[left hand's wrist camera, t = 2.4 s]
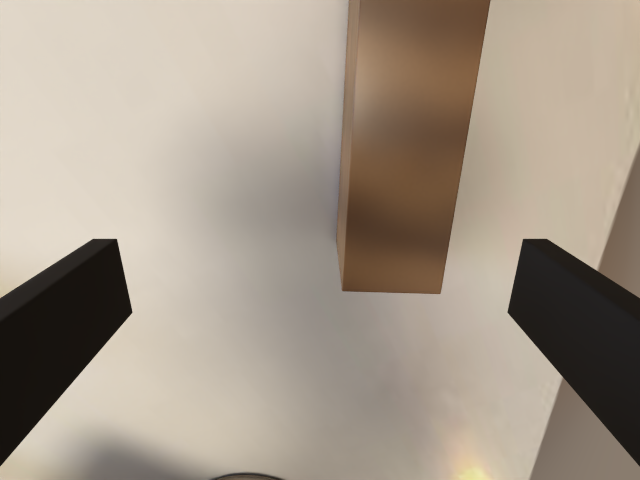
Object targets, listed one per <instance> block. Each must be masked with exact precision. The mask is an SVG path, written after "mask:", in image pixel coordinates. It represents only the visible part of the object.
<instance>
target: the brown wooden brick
mask: <svg viewBox="0 0 640 480" xmlns="http://www.w3.org/2000/svg"><path fill="white" fill-rule="evenodd" d="M489 5H490V0H349V9H348V28H347V48H346V67H345V86H344V105H343V124H342V143H341V162H340V181H339V200H338V219H337V238H336V242H337V251H338V260H339V269H340V277H341V286H342V291H354V292H389V293H424V294H440V293H441V288H442V282H443V276H444V270H445V264H446V258H447V252H448V246H449V240H450V235H451V229H452V223H453V217H454V211H455V205H456V199H457V193H458V187H459V182H460V176H461V170H462V164H463V158H464V152H465V146H466V140H467V135H468V129H469V123H470V117H471V111H472V105H473V99H474V93H475V87H476V82H477V76H478V70H479V64H480V58H481V52H482V46H483V40H484V34H485V29H486V23H487V17H488V11H489Z"/></svg>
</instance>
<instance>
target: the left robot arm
mask: <svg viewBox="0 0 640 480" xmlns="http://www.w3.org/2000/svg"><path fill="white" fill-rule="evenodd" d="M131 314H132V308H131V303H130V299H129V294H128V289H127V284H126V280H125V275H124V270H123V266H122V261H121V256H120V251H119V247H118V242H117V239H92V240H91V241H89V242H88V243H86V244H84V245H83V246H81V247H80V248H78V249H77V250H75V251H74V252H72V253H70V254H69V255H67V256H66V257H64V258H63V259H61V260H59V261H58V262H56V263H55V264H53V265H52V266H50V267H48V268H47V269H45V270H44V271H42V272H41V273H39V274H37V275H36V276H34V277H33V278H31V279H30V280H28V281H27V282H25V283H23V284H22V285H20V286H19V287H17V288H16V289H14V290H12V291H11V292H9V293H8V294H6V295H5V296H3V297H1V298H0V466H1V465H2V464H3V463H4V461H5V460H6V459H7V458H8V457H9V456H10V454H11V453H12V452H13V451H14V450H15V449H16V447H17V446H18V445H19V444H20V443H21V442H22V440H23V439H24V438H25V437H26V436H27V435H28V433H29V432H30V431H31V430H32V429H33V428H34V426H35V425H36V424H37V423H38V422H39V421H40V419H41V418H42V417H43V416H44V415H45V414H46V413H47V411H48V410H49V409H50V408H51V407H52V406H53V404H54V403H55V402H56V401H57V400H58V399H59V397H60V396H61V395H62V394H63V393H64V392H65V390H66V389H67V388H68V387H69V386H70V385H71V383H72V382H73V381H74V380H75V379H76V378H77V376H78V375H79V374H80V373H81V372H82V371H83V369H84V368H85V367H86V366H87V365H88V364H89V362H90V361H91V360H92V359H93V358H94V357H95V355H96V354H97V353H98V352H99V351H100V350H101V348H102V347H103V346H104V345H105V344H106V343H107V341H108V340H109V339H110V338H111V337H112V336H113V334H114V333H115V332H116V331H117V330H118V329H119V328H120V326H121V325H122V324H123V323H124V322H125V321H126V319H127V318H128V317H129V316H130V315H131ZM508 314H509V315H510V316H511V317H512V318H513V319H514V321H515V322H516V323H517V324H518V325H519V326H520V328H521V329H522V330H523V331H524V332H525V333H526V334H527V336H528V337H529V338H530V339H531V340H532V341H533V343H534V344H535V345H536V346H537V347H538V348H539V350H540V351H541V352H542V353H543V354H544V355H545V357H546V358H547V359H548V360H549V361H550V362H551V364H552V365H553V366H554V367H555V368H556V369H557V371H558V372H559V373H560V374H561V375H562V376H563V378H564V379H565V380H566V381H567V382H568V383H569V385H570V386H571V387H572V388H573V389H574V390H575V392H576V393H577V394H578V395H579V396H580V397H581V399H582V400H583V401H584V402H585V403H586V404H587V405H588V407H589V408H590V409H591V410H592V411H593V412H594V414H595V415H596V416H597V417H598V418H599V419H600V421H601V422H602V423H603V424H604V425H605V426H606V428H607V429H608V430H609V431H610V432H611V433H612V435H613V436H614V437H615V438H616V439H617V440H618V442H619V443H620V444H621V445H622V446H623V447H624V449H625V450H626V451H627V452H628V453H629V454H630V456H631V457H632V458H633V459H634V460H635V461H636V463H637V464H638V465H639V466H640V298H639V297H637V296H635V295H634V294H632V293H631V292H629V291H628V290H626V289H624V288H623V287H621V286H620V285H618V284H617V283H615V282H613V281H612V280H610V279H609V278H607V277H606V276H604V275H602V274H601V273H599V272H598V271H596V270H595V269H593V268H592V267H590V266H588V265H587V264H585V263H584V262H582V261H581V260H579V259H577V258H576V257H574V256H573V255H571V254H570V253H568V252H566V251H565V250H563V249H562V248H560V247H559V246H557V245H556V244H554V243H552V242H551V241H549V240H548V239H523V242H522V247H521V251H520V256H519V261H518V266H517V270H516V275H515V280H514V284H513V289H512V294H511V299H510V303H509V308H508ZM216 480H276V479H273V478H269V477H264V476H257V475H234V476H227V477H223V478H219V479H216Z"/></svg>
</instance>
